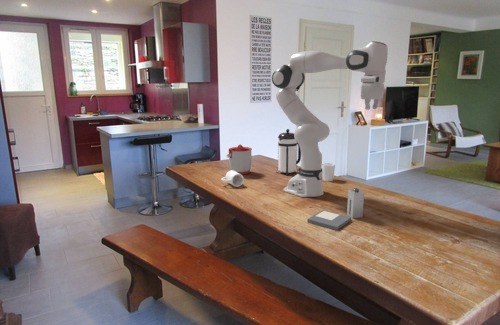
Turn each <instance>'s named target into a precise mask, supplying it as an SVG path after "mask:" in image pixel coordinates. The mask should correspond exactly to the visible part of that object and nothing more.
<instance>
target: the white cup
mask: <svg viewBox="0 0 500 325" xmlns="http://www.w3.org/2000/svg"><path fill="white" fill-rule="evenodd" d="M335 168H336V164H335V163H333V162H331V163H330V162H324V163H322V181H323V182H324V181H325V182H333V181H334V178H335V177H334V176H335V170H336V169H335Z"/></svg>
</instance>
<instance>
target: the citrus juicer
mask: <svg viewBox="0 0 500 325" xmlns="http://www.w3.org/2000/svg"><path fill="white" fill-rule="evenodd" d="M252 149H253V148H252V147H248V146H243V145H242V144H241V143H239V144H238V145H237V146H233V147H229V148H228V154H227V155H226V158H227V159H229V160H228V161H229V162H228V164H229V167H230V171H231V170H233V171H236V172H237V173H239V174H241V175H242V176H244V175H248V174H249V173H250V171H251V167H252V163H253V162H252V158H253V157H252V156H253V155H252Z"/></svg>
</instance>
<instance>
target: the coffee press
mask: <svg viewBox="0 0 500 325" xmlns="http://www.w3.org/2000/svg"><path fill="white" fill-rule="evenodd" d="M277 138H278V142H277V144H278V145H277V146H278V151H277V154H278V155H277V158H278V159H277V169H276V173H277V174H278V173H285V177H286V176H289V173H296V172H297V169H298V168H297V164H299V163H301V150H300V146H299V144H298V143H297V142H296V140H295V138H294V132H290V129H289V128H287V129H286V130H285V132H282V133H280V134H278V137H277Z"/></svg>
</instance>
